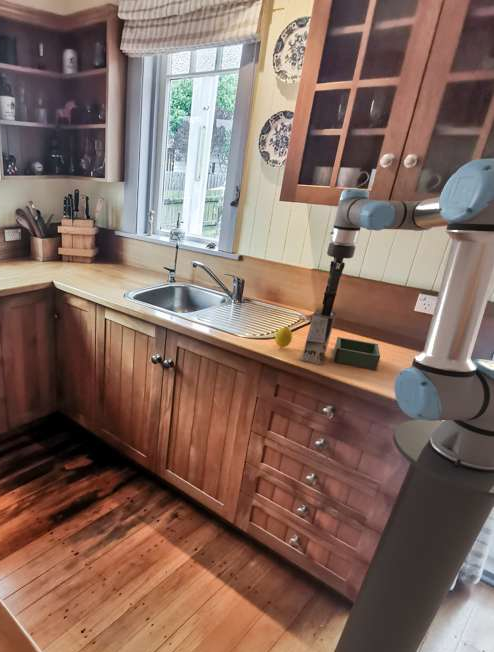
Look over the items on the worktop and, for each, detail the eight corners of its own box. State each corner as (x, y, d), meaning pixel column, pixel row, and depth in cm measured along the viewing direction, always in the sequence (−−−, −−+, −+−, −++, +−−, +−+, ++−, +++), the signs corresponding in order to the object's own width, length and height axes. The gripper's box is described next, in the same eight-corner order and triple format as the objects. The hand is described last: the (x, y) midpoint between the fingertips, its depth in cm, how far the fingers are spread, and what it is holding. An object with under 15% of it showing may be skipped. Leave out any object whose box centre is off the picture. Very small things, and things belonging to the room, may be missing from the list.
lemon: (273, 349, 164) (277, 328, 161) (273, 343, 169) (278, 323, 166) (289, 352, 163) (294, 330, 159) (289, 346, 168) (294, 325, 164)
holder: (375, 370, 153) (380, 356, 150) (333, 362, 157) (337, 348, 155) (373, 357, 162) (377, 343, 160) (333, 349, 167) (337, 336, 165)
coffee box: (320, 364, 154) (333, 319, 147) (300, 360, 157) (312, 314, 150) (325, 355, 161) (337, 311, 154) (306, 351, 164) (317, 307, 157)
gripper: (330, 236, 154) (315, 298, 163) (328, 248, 133) (312, 318, 142) (354, 239, 151) (338, 302, 160) (357, 251, 130) (338, 323, 139)
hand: (326, 310), depth 151 cm, fingers open, 13 cm apart
